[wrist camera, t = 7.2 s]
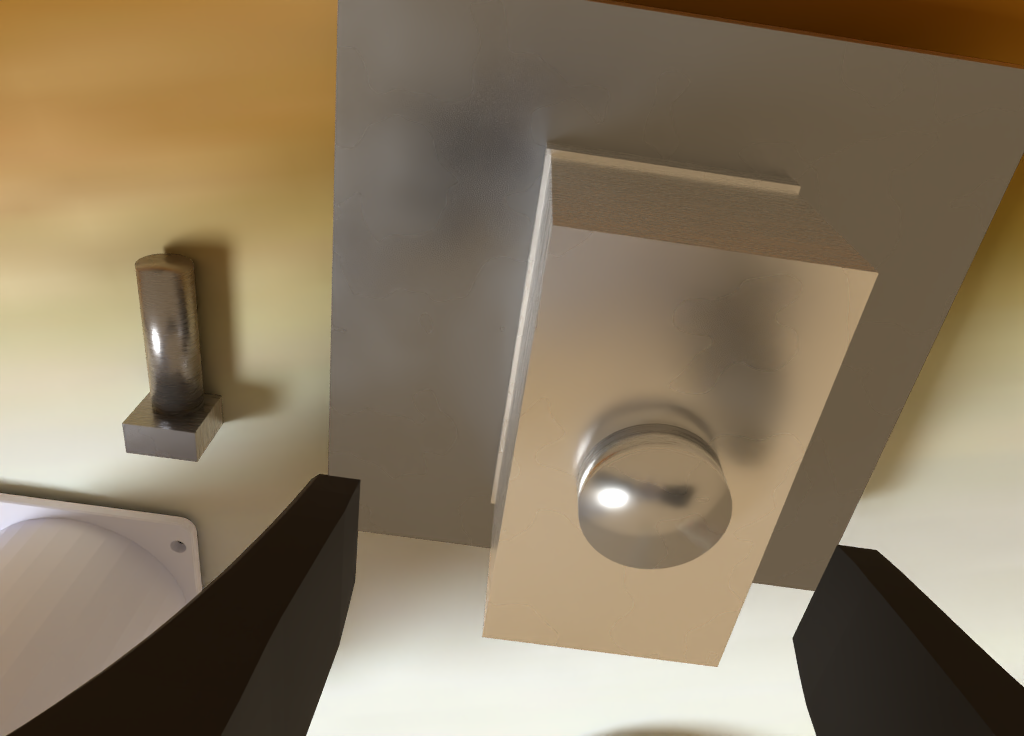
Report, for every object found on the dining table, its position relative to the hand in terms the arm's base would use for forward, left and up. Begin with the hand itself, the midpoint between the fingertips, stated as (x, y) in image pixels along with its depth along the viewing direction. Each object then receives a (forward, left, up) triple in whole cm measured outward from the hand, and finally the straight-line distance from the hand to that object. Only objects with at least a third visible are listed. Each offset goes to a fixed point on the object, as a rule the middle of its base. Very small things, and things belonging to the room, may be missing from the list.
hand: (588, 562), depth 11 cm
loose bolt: (-3, +11, -10) cm, 15 cm away
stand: (0, -1, -10) cm, 10 cm away
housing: (0, -1, -7) cm, 7 cm away
